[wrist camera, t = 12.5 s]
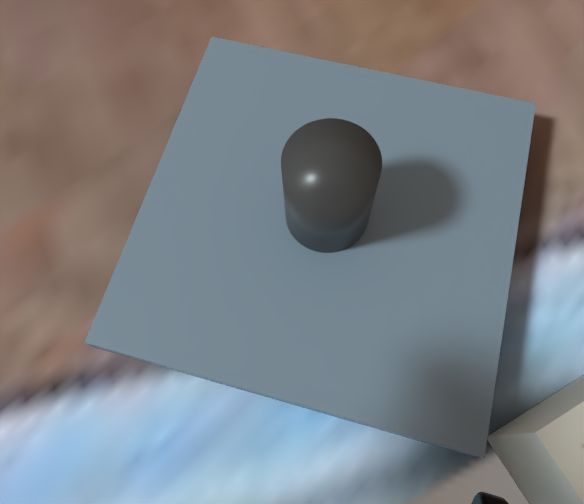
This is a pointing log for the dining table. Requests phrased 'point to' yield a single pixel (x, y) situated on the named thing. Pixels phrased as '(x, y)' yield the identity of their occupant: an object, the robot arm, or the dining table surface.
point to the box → (547, 448)
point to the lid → (329, 243)
